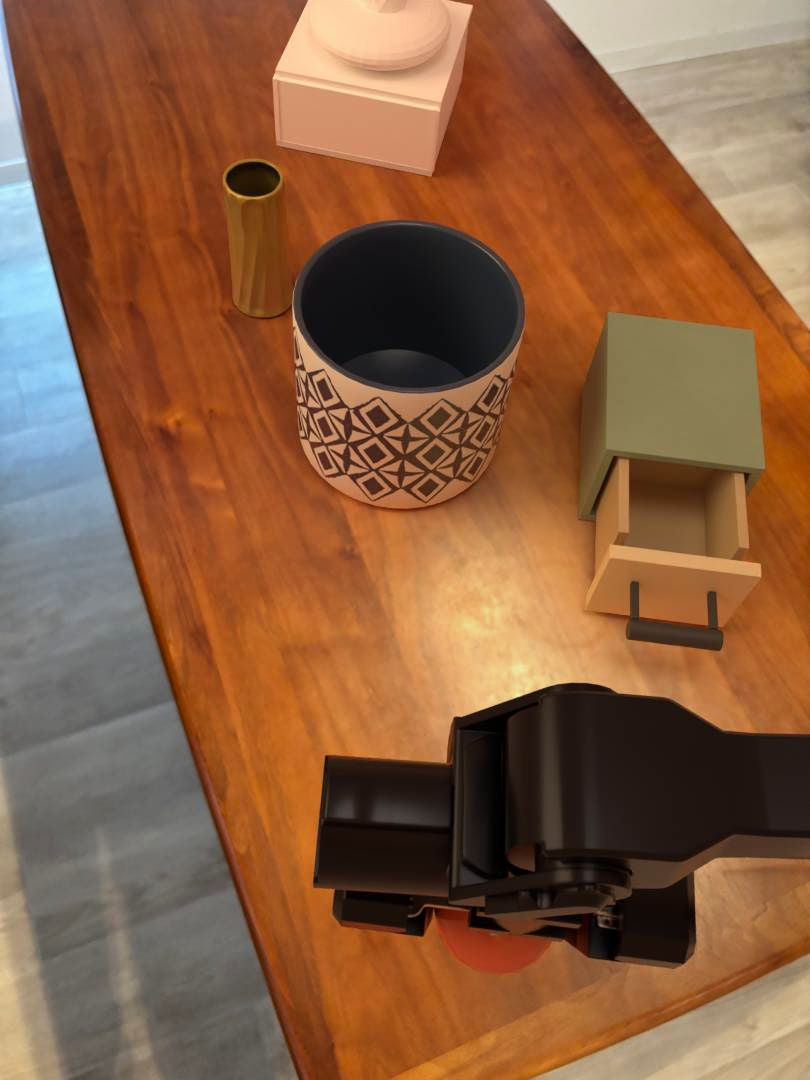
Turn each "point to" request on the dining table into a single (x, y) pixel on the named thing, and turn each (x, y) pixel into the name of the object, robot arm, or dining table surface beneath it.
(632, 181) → the dining table surface
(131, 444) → the dining table surface
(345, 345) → the planter
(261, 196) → the vase
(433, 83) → the pink lidded box
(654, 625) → the drawer
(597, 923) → the robot arm
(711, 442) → the cabinet
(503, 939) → the tomato
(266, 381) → the dining table surface
